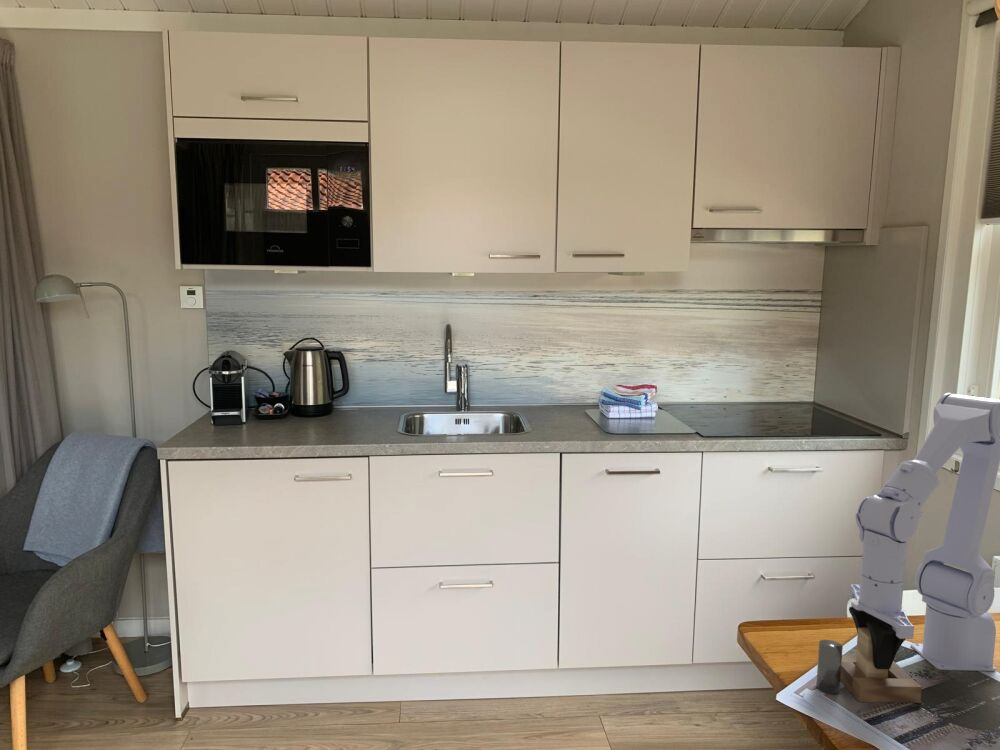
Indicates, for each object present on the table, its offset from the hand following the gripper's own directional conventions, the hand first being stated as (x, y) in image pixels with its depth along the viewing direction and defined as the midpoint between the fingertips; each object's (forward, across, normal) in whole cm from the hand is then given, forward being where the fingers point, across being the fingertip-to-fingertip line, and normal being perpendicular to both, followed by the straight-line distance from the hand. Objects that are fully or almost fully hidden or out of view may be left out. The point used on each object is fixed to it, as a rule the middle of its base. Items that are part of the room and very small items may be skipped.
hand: (875, 661), depth 107 cm
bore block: (+4, 0, 0) cm, 4 cm away
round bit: (+4, +1, -8) cm, 9 cm away
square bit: (+2, 0, 0) cm, 2 cm away
